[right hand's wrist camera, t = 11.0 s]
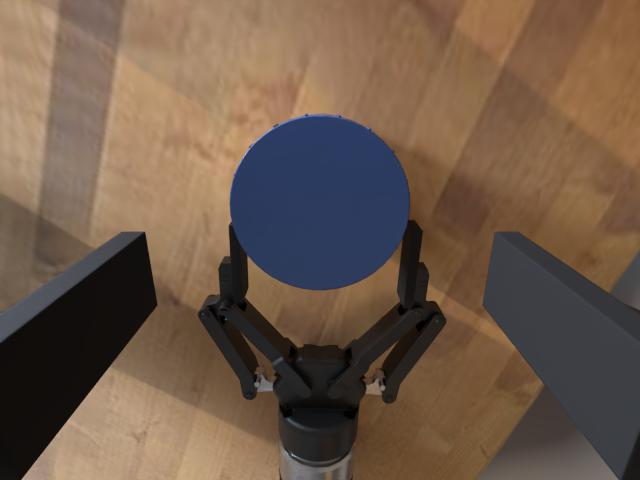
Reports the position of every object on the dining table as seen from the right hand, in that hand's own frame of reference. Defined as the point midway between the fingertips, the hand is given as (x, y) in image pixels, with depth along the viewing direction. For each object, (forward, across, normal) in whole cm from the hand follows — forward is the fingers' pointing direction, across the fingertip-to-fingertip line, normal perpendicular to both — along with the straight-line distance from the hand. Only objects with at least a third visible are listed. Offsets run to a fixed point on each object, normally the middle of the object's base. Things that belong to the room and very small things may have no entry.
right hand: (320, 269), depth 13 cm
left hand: (+16, 0, +4) cm, 17 cm away
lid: (+8, 0, 0) cm, 8 cm away
